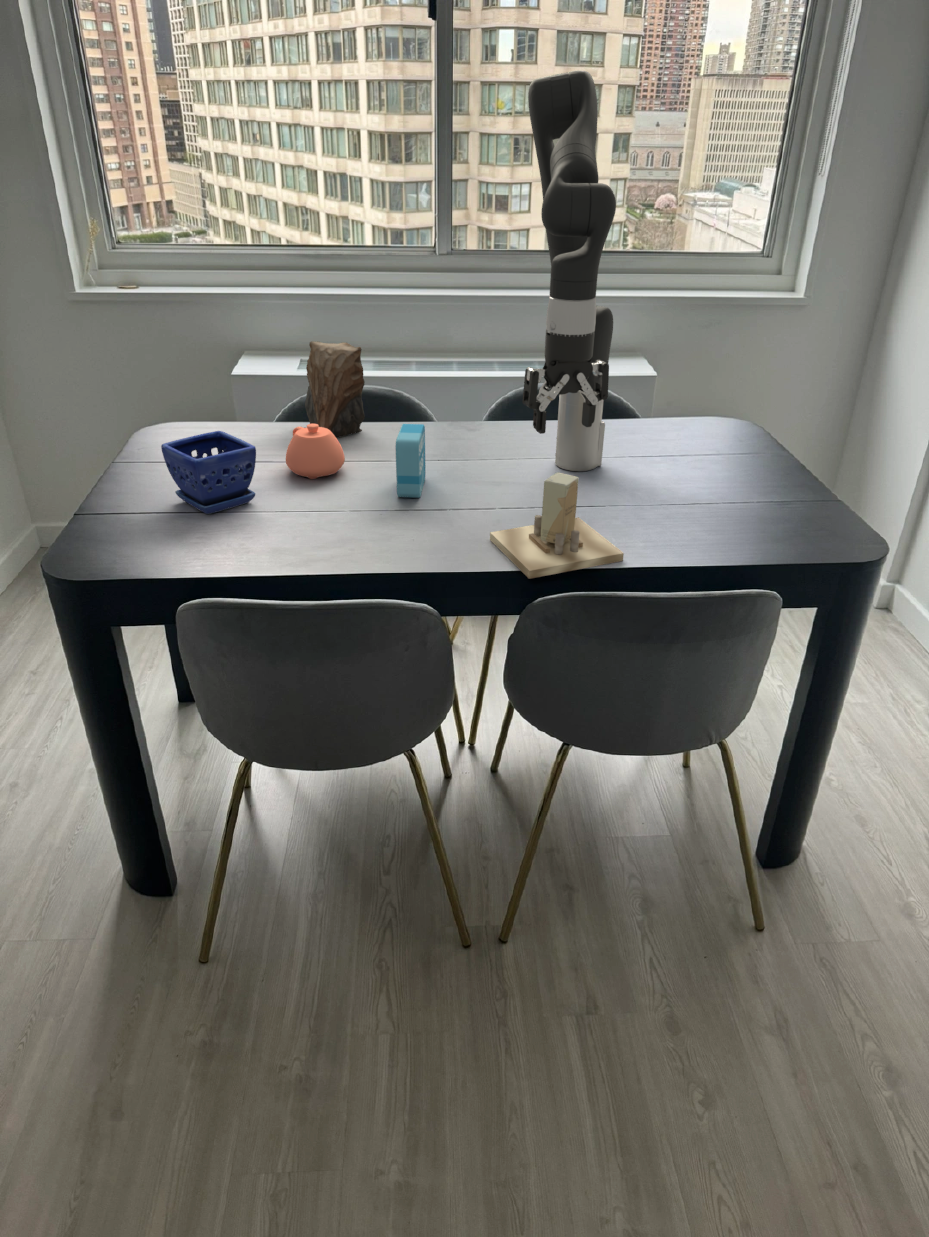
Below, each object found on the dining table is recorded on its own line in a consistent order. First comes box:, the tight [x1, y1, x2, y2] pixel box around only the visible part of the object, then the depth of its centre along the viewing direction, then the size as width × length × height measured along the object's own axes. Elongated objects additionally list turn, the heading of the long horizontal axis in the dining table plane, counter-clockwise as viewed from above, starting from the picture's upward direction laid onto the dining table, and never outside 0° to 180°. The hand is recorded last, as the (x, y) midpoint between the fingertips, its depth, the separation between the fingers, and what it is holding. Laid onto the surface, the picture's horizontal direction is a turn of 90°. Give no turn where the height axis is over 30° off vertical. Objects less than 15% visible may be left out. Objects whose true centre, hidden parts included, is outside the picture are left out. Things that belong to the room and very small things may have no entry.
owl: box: [304, 340, 366, 439], centre depth 204 cm, size 13×13×20 cm
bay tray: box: [489, 514, 625, 580], centre depth 153 cm, size 18×16×5 cm
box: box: [540, 472, 580, 544], centre depth 151 cm, size 5×4×11 cm
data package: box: [395, 423, 426, 499], centre depth 175 cm, size 12×4×12 cm, turn 176°
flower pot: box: [160, 430, 257, 515], centre depth 168 cm, size 13×13×12 cm
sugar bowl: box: [285, 423, 346, 480], centre depth 184 cm, size 12×14×10 cm
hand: (563, 429), depth 143 cm, fingers open, 8 cm apart
